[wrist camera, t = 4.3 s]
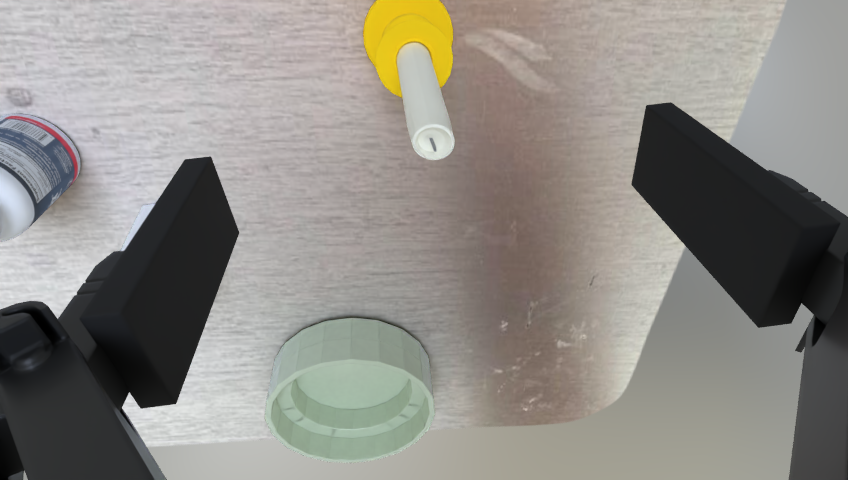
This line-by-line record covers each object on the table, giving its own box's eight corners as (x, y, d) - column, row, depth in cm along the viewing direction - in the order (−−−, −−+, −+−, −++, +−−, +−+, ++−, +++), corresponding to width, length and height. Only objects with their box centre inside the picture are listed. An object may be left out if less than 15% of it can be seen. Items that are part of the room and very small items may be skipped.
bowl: (422, 304, 42) (427, 349, 38) (434, 406, 50) (439, 452, 46) (255, 324, 41) (243, 372, 37) (295, 423, 50) (288, 471, 45)
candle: (418, 96, 31) (449, 239, 19) (346, 46, 29) (326, 170, 17) (470, 23, 29) (545, 130, 16) (396, -36, 27) (417, 34, 14)
